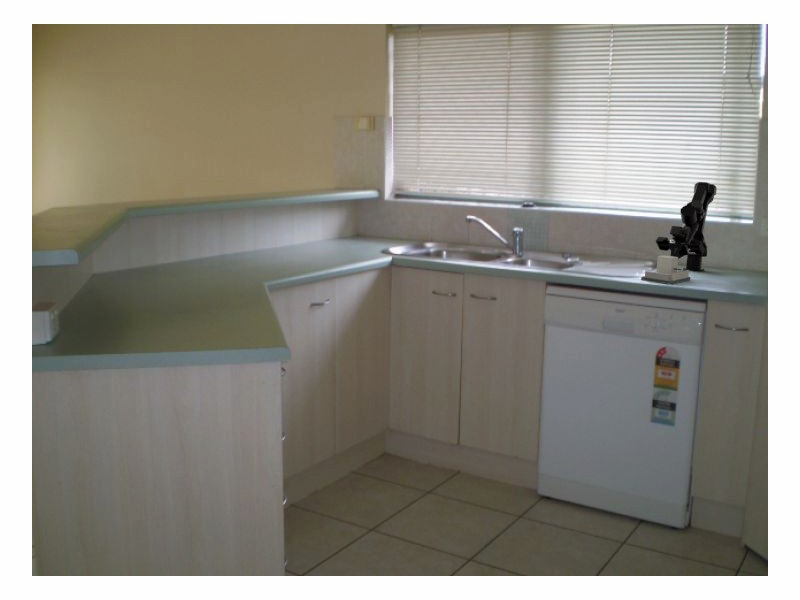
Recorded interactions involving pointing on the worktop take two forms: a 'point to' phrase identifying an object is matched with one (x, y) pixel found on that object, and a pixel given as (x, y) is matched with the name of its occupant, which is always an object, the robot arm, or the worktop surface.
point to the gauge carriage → (667, 264)
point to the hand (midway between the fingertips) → (671, 261)
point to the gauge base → (667, 277)
